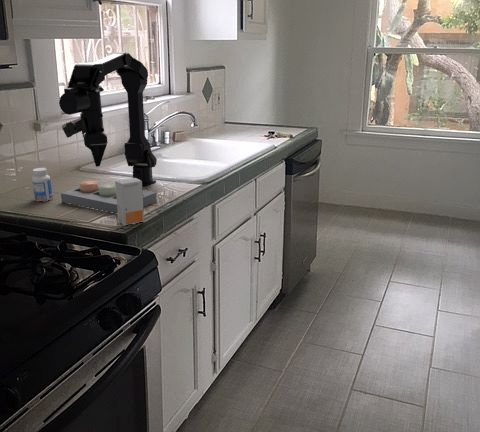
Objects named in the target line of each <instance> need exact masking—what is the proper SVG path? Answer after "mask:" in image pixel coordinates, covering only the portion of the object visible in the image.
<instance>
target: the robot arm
mask: <svg viewBox="0 0 480 432" xmlns="http://www.w3.org/2000/svg"><path fill="white" fill-rule="evenodd" d="M113 72H116V74H117V75H118V76H119V77H120V79H121V80H120V81H121V86H122V87H123V88H124V89H125V91H126V94H127V107H128V108H127V110H128V123H129V124H128V126H129V138H128V139H127V142H125V143H124V145H123V147H124V157H125V160H126V164H127V166H128V167H132V178H137V179H139V180H141V181H142V187H146V186H149V185H152V184H154V183H156V182H157V180H155V179H153V168H155V167H156V166H157V157H156V156H155V155H154V153H153V152H152V147H151V143H150V142H149V140H148V139H147V138H146V133H145V132H146V131H145V115H144V114H145V112H144V91H145V89H146V87H147V85H148V76H149V71H148V68H146V66H145V65H144V63H143V62H142V61H140V60H138V59H136V58H135V57H133V56H132V55H131V53H129V52H127V51H115V52H113V53H112V54H110V55H108V56H105V57H103V58H100V59H98V60H96V61H94V62H80V63H76V64H74V66H73V70H72V72H71V74H70V78H69V82H68V85H67V87H66V88H64V89H63V93H62V95H61V96H60V98H59V102H58V104H59V105H58V106H59V107H60V110H61V111H62V112H63V113H64V114H66V115H70V116H71V115H75V114H78V113H79V118H76V119H74V120H70V121H69V122H66V123H64V124H62V125H61V128H62V130H63V132H64V135H65V137H66V138H67V139H68V138H71V137H72V136H73V135H74V136H75V135H77V134H79V133H80V132H81V134H82V138H83V142H84V143H83V144H84V146H85V147H86V148H88V149H89V150H90V152H91V155H92V158H93V162H94V165H95V167H96V168H97V167H100V166H101V163H102V161H103V157H104V154H105V151H106V149H107V145H108V143H109V142H108V136H107V134H106V133H105V127H104V121H103V119H104V118H103V117H104V115H103V110H102V101H101V99H102V96H101V92H104V87H102V86H101V85H100V84H102V82H103V81H105V80H106V76H107V75H109V74H112V73H113Z"/></svg>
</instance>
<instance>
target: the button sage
mask: <svg viewBox="0 0 480 432" xmlns="http://www.w3.org/2000/svg"><path fill="white" fill-rule="evenodd" d="M98 189H99V196H104V197H111V196H114V195H116V183H115V184H114V183H106V184H105V185H101V186H99V187H98Z"/></svg>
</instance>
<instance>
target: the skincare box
mask: <svg viewBox="0 0 480 432" xmlns="http://www.w3.org/2000/svg"><path fill="white" fill-rule="evenodd" d="M114 182H115V185H116V196H117V210H118V215H117V219H118V220H117V221H119V222H120V223H122V224H123V225H128V224H133V223H138V222H143V223H145V218H144V217H145V215H144V214H145V213H144V207H143V193H142V190H143V186H142V181H141V180H139V179H137V178H133V177H131V178H124V179H121V180H115V181H114ZM119 222H118V223H119ZM120 223H119V224H120ZM122 224H121V225H122ZM138 224H139V223H138ZM123 225H122V226H123ZM133 225H134V224H133ZM128 226H129V225H128Z"/></svg>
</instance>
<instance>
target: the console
mask: <svg viewBox="0 0 480 432" xmlns="http://www.w3.org/2000/svg"><path fill="white" fill-rule="evenodd" d="M97 182H98V187H99V186H101V185H105V184H107V182H106V183H105V182H100V181H97ZM142 193H143V208H145V207H147V206H146V205H148V206H149V204H150V205H152V204H151V203H153V204H155V203H157V192H155V191H149V190H144V189H142ZM60 199H61V203H62V202H65V203H64V204H66V203H71V204H75V205H74V206H76V205H80V206H84V207H83V208H85V207H89V208H88V209H90V208H94V209H98V210H97V211H99V210H103V211H102V212H104V211H107V212H106V213H108V212H113V213H118V210H117V196H116V195H114V196H111V197H104V196H99V191H96V192H93V193H90V194H89V193H84V192H80V186H78V187H76V188H73V189H70V190H67V191H64V192H60ZM154 202H155V203H154ZM71 204H70V205H71ZM80 206H79V207H80ZM144 206H145V207H144ZM94 209H93V210H94ZM113 213H112V214H113Z"/></svg>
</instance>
